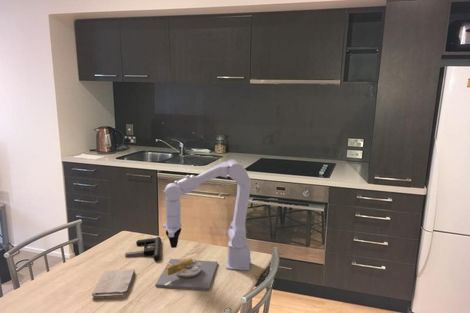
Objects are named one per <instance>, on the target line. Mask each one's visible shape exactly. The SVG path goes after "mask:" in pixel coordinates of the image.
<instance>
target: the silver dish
mask: <svg viewBox="0 0 470 313" xmlns="http://www.w3.org/2000/svg"><path fill="white" fill-rule="evenodd" d="M196 260H197V259H193V258H191V257H189V258H186V259H183V260H181V261H179V262H177V263H175V264H172V265H169V266H167V265H166V266H165V267H166V274H167V275H168V276H169V275H172V274H174V273H176V275H177V276H179V277H181V278H193V277H196V276H198V275H199V274H200V273H201V263H198V262H196Z"/></svg>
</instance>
